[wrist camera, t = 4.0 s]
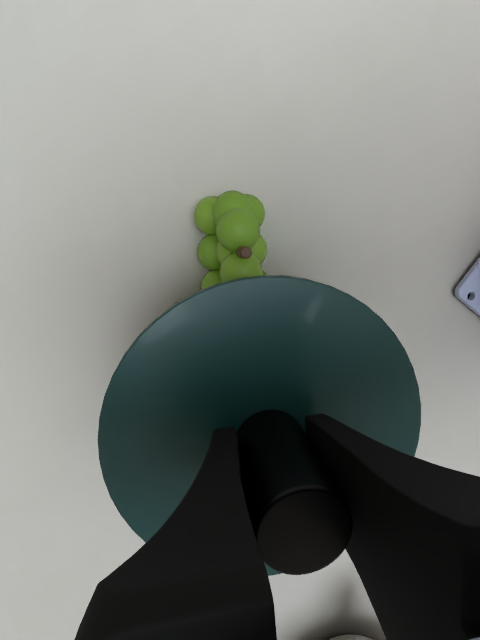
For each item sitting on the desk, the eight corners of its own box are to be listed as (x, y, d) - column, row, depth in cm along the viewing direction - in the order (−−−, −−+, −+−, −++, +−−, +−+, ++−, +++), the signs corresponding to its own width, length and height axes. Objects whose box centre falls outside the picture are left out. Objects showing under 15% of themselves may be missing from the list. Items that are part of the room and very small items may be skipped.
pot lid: (459, 379, 14) (608, 454, 9) (292, 592, 15) (342, 765, 10) (223, 205, 11) (247, 172, 6) (44, 475, 12) (-55, 627, 7)
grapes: (266, 297, 21) (294, 316, 15) (202, 303, 21) (206, 326, 15) (259, 195, 20) (288, 174, 14) (192, 200, 19) (191, 180, 14)
